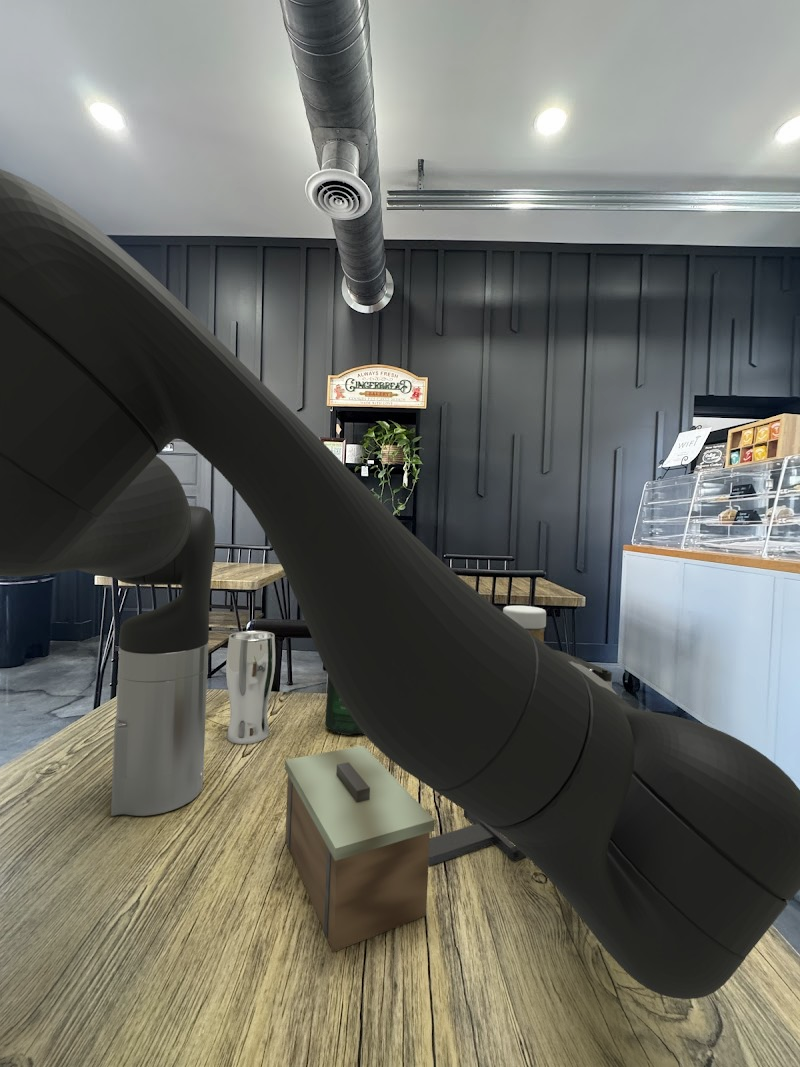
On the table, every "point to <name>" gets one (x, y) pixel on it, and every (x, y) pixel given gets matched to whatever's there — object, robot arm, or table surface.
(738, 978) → the table surface
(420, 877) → the toolbox
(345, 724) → the coffee jar
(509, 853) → the square frame with handle
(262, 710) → the beer glass
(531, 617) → the sprinkles bottle
